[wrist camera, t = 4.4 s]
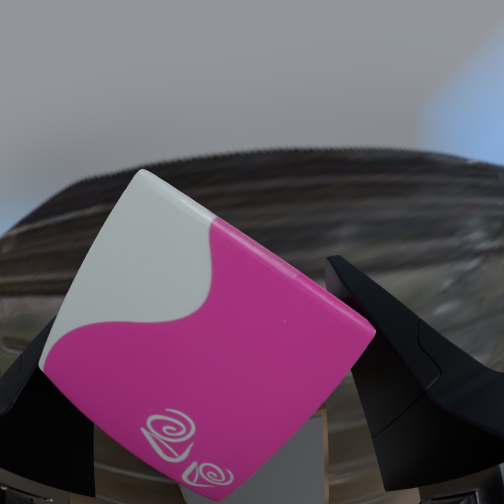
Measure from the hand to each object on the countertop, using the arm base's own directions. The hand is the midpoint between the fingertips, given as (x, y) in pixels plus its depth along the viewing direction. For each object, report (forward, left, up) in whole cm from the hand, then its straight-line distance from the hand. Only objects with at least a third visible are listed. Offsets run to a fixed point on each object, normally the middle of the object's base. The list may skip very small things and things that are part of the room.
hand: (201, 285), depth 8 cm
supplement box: (-1, -1, -8) cm, 8 cm away
